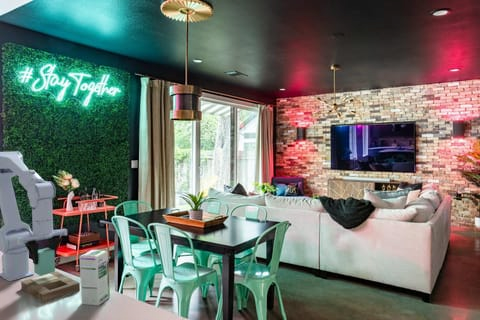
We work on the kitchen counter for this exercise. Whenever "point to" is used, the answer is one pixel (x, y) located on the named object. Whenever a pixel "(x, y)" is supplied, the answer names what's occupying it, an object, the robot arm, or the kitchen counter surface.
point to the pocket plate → (50, 286)
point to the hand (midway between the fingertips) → (44, 261)
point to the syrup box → (94, 277)
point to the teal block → (45, 262)
